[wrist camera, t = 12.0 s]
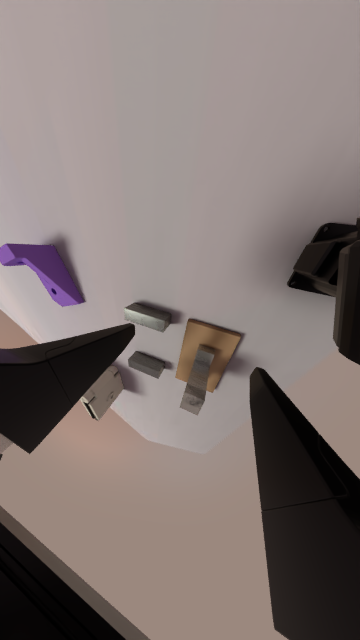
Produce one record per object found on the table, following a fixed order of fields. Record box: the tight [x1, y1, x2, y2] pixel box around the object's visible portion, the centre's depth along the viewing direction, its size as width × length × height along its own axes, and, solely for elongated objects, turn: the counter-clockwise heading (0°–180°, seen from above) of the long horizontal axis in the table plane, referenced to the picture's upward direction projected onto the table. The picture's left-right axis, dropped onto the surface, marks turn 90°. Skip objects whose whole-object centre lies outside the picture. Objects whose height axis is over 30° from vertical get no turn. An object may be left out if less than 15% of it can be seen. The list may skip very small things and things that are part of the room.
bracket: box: [0, 244, 84, 307], centre depth 27 cm, size 12×7×7 cm, turn 13°
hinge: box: [80, 366, 124, 420], centre depth 37 cm, size 14×5×10 cm, turn 12°
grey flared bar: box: [180, 344, 215, 415], centre depth 22 cm, size 3×8×8 cm, turn 171°
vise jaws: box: [124, 303, 171, 378], centre depth 27 cm, size 8×16×3 cm, turn 171°
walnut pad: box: [175, 319, 241, 393], centre depth 26 cm, size 9×16×1 cm, turn 171°
